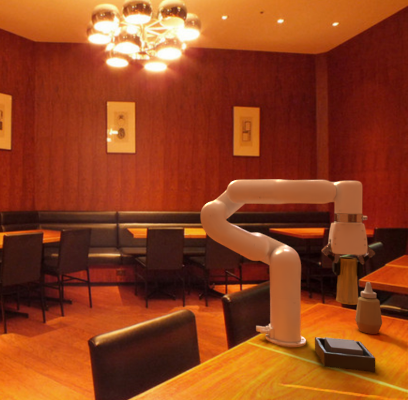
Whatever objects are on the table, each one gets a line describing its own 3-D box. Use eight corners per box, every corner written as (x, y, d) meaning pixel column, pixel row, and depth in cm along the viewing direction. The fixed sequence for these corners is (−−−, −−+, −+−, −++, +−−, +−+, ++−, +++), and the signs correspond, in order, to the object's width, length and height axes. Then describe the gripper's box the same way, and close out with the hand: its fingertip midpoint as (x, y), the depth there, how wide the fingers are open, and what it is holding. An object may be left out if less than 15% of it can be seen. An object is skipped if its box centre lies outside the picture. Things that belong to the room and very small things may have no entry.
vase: (363, 304, 118) (363, 259, 118) (343, 304, 118) (344, 259, 118) (350, 299, 124) (350, 256, 124) (331, 299, 124) (332, 256, 124)
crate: (324, 368, 108) (324, 352, 108) (314, 351, 120) (314, 337, 120) (375, 374, 104) (375, 358, 104) (360, 355, 116) (360, 341, 116)
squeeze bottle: (383, 337, 131) (383, 285, 131) (355, 333, 136) (355, 283, 136) (381, 330, 138) (381, 281, 138) (355, 326, 143) (354, 279, 142)
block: (331, 364, 110) (331, 347, 110) (324, 353, 117) (324, 337, 117) (363, 367, 107) (363, 350, 107) (354, 356, 115) (354, 340, 115)
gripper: (373, 219, 122) (373, 274, 123) (315, 218, 127) (314, 271, 127) (383, 220, 115) (383, 279, 115) (321, 219, 120) (321, 276, 120)
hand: (347, 274), depth 121 cm, fingers closed on vase, 5 cm apart
